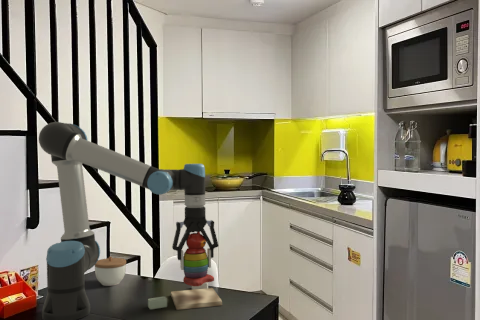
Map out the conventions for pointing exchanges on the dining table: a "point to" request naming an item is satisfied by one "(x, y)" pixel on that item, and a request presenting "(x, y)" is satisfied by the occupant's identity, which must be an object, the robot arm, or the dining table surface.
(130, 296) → the dining table surface
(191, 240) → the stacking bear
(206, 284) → the grey brick
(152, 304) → the sage brick
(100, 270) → the lidded bowl
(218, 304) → the birch board
